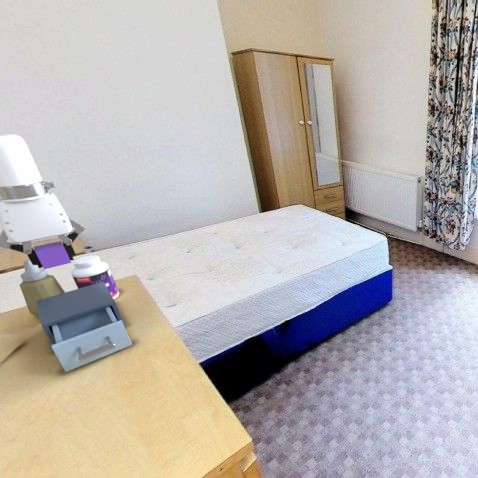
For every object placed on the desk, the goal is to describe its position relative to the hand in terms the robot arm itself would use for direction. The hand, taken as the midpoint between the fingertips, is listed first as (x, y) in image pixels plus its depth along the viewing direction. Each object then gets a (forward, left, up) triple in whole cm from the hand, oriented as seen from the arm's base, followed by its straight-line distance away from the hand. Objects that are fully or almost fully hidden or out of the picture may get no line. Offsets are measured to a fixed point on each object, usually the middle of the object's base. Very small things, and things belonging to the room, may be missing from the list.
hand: (56, 261), depth 79 cm
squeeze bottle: (-13, +12, -22) cm, 28 cm away
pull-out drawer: (+6, -11, -21) cm, 24 cm away
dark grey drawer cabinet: (-1, +1, -22) cm, 22 cm away
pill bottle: (-4, +17, -22) cm, 28 cm away
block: (0, 0, 0) cm, 0 cm away
